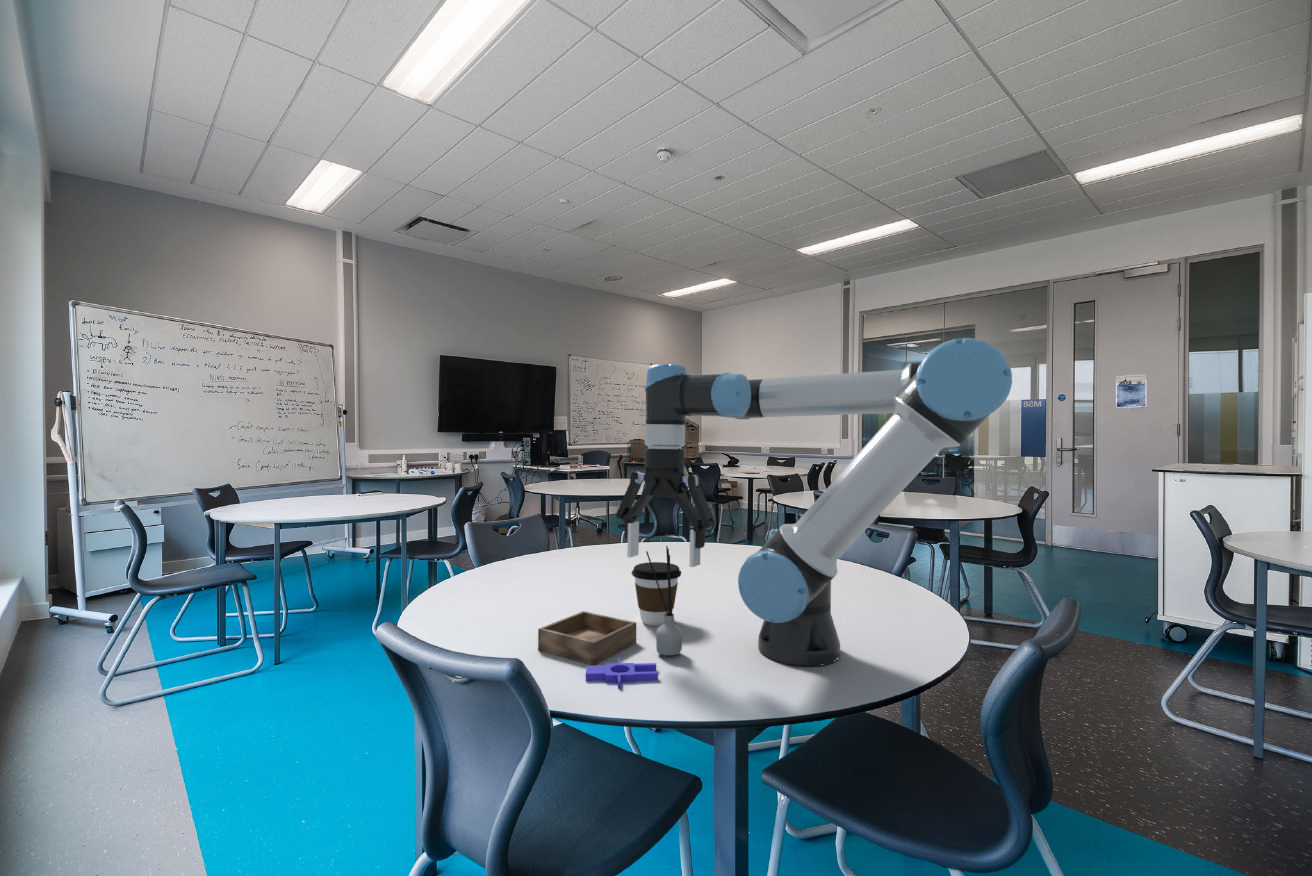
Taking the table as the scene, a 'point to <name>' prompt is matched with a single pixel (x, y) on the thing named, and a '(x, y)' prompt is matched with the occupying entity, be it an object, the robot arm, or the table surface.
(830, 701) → the table surface
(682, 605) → the table surface
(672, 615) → the reed diffuser
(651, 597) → the coffee cup
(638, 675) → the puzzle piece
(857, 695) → the table surface
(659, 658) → the table surface
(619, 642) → the tray
